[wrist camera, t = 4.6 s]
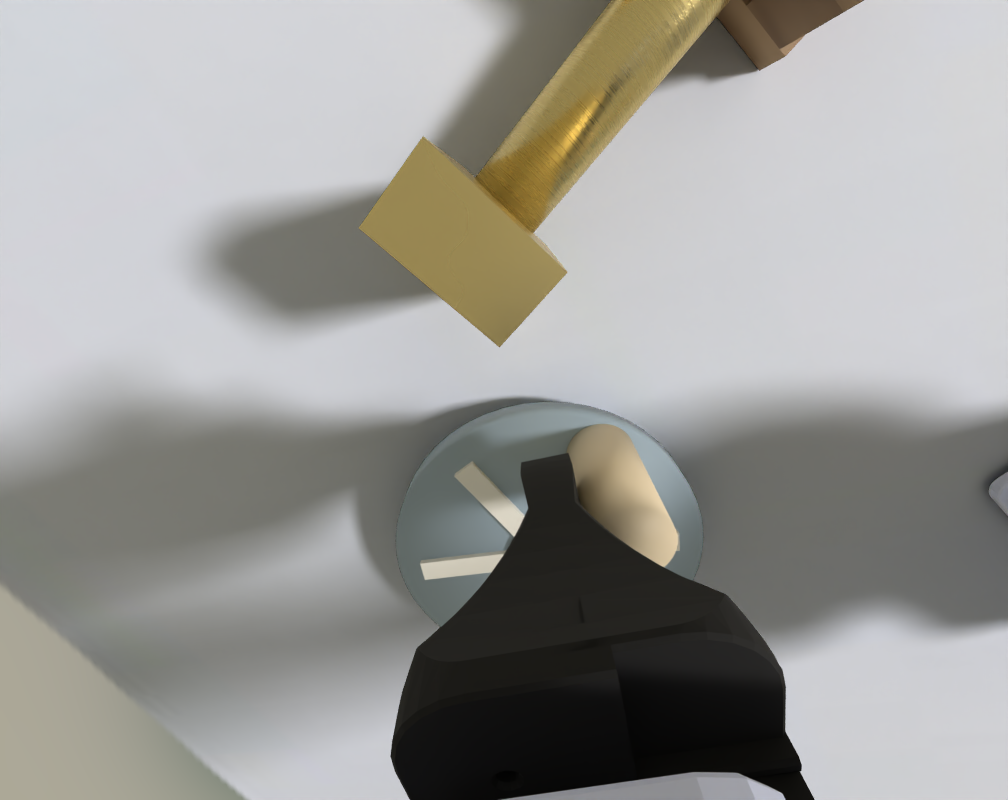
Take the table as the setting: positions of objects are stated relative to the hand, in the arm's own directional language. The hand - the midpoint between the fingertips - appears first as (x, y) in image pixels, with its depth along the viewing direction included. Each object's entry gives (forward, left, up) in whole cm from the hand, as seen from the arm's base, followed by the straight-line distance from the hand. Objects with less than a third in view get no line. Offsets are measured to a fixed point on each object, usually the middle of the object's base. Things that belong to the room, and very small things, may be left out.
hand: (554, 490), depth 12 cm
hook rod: (+5, -9, -3) cm, 11 cm away
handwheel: (-3, +3, -4) cm, 5 cm away
